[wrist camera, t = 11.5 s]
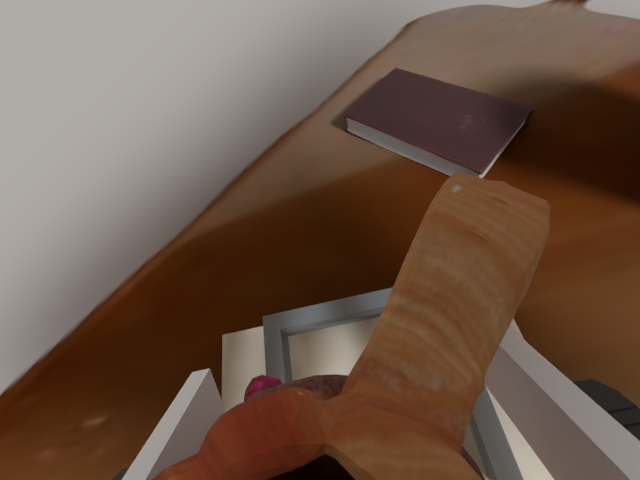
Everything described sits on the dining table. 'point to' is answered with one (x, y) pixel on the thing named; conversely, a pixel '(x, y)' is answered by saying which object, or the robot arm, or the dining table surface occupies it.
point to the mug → (398, 359)
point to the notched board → (340, 357)
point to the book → (436, 122)
